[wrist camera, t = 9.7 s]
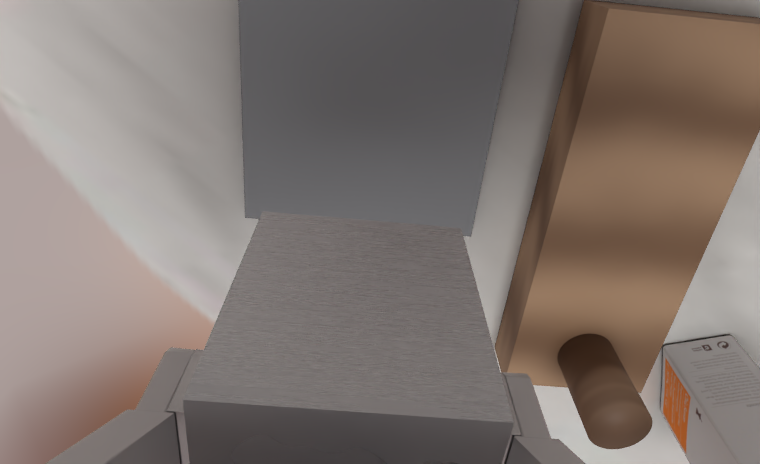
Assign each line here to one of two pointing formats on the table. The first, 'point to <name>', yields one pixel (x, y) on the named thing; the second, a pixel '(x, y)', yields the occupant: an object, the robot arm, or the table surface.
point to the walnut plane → (628, 202)
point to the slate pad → (370, 106)
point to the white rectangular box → (349, 351)
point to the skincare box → (712, 400)
